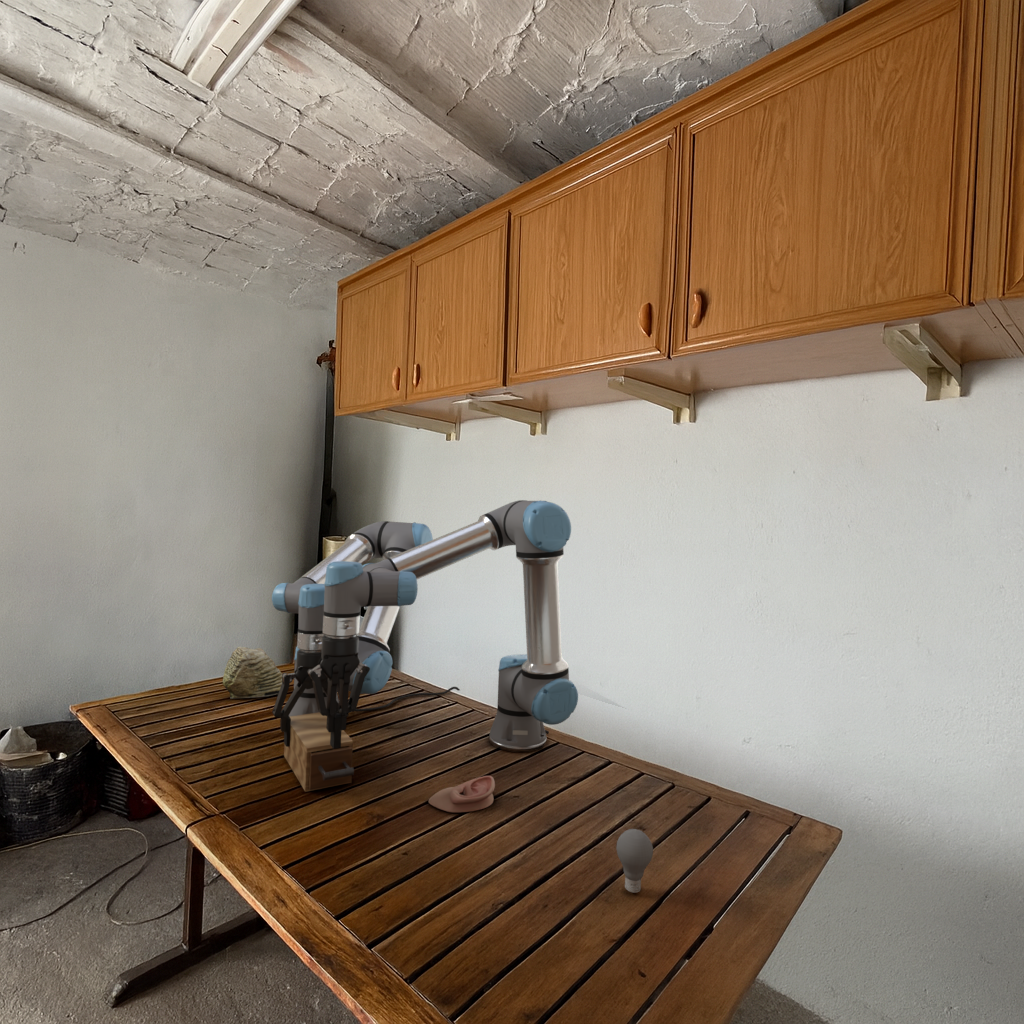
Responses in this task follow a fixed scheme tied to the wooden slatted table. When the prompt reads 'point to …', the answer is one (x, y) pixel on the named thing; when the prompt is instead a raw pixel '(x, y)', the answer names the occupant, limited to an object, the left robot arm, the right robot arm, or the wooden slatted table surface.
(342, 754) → the drawer
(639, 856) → the light bulb
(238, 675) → the fossil
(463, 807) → the anatomical model
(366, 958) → the wooden slatted table surface
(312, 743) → the cabinet
